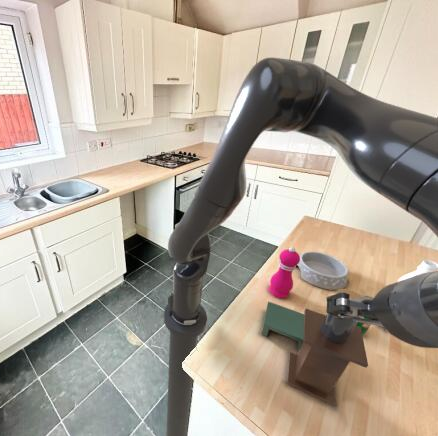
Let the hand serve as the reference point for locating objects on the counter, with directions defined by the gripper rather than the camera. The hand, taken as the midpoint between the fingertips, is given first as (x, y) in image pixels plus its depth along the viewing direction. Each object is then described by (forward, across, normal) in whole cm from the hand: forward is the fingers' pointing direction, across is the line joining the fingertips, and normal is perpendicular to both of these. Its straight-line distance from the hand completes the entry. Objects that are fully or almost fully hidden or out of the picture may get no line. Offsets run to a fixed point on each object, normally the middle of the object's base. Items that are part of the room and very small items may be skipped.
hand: (368, 319), depth 40 cm
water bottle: (+50, -23, -8) cm, 55 cm away
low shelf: (+39, +7, +3) cm, 39 cm away
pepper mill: (+50, +8, -10) cm, 51 cm away
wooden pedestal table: (+31, +1, +13) cm, 34 cm away
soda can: (+46, -13, -4) cm, 48 cm away
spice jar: (+17, 0, +2) cm, 17 cm away
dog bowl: (+61, -7, -24) cm, 66 cm away
